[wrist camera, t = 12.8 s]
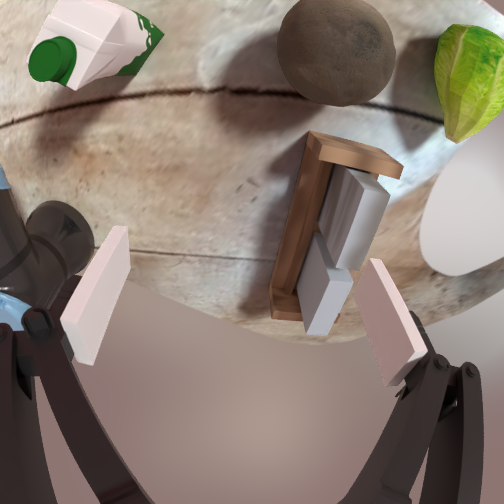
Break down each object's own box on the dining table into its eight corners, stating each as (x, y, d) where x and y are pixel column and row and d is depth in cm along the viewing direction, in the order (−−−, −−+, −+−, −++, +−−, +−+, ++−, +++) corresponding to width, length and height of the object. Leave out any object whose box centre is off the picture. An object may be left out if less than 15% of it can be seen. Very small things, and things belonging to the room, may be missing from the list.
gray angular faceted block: (295, 283, 55) (305, 334, 45) (313, 231, 49) (330, 280, 39) (313, 285, 55) (326, 335, 45) (332, 235, 49) (353, 282, 39)
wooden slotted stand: (268, 288, 58) (274, 346, 46) (309, 130, 41) (335, 159, 30) (327, 293, 59) (343, 349, 48) (380, 149, 43) (425, 184, 31)
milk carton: (93, 57, 33) (6, 68, 16) (127, 6, 29) (51, -19, 12) (138, 82, 36) (66, 103, 19) (174, 31, 32) (121, 9, 16)
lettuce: (398, 112, 39) (440, 131, 29) (432, 8, 28) (479, 4, 18) (457, 145, 41) (499, 171, 32) (489, 52, 30) (536, 62, 21)
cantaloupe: (384, 55, 34) (442, 59, 22) (324, 117, 40) (360, 144, 28) (312, -11, 29) (345, -42, 16) (247, 56, 35) (249, 50, 22)
